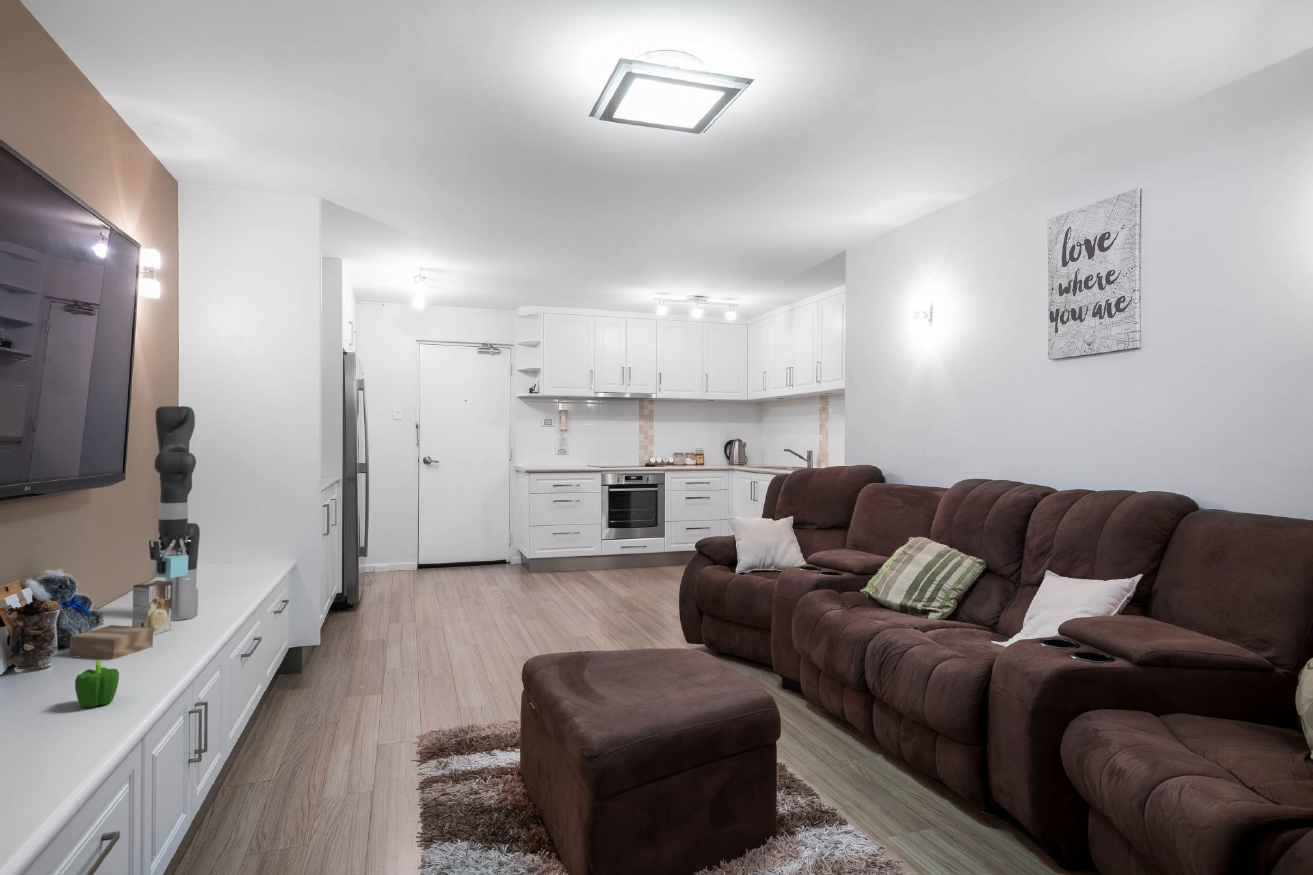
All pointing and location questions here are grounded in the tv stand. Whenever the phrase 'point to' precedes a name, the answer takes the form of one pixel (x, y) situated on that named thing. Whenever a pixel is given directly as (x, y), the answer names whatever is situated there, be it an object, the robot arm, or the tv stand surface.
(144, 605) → the coffee box
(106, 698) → the bell pepper
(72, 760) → the tv stand surface
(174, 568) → the teal cube
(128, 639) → the walnut block
